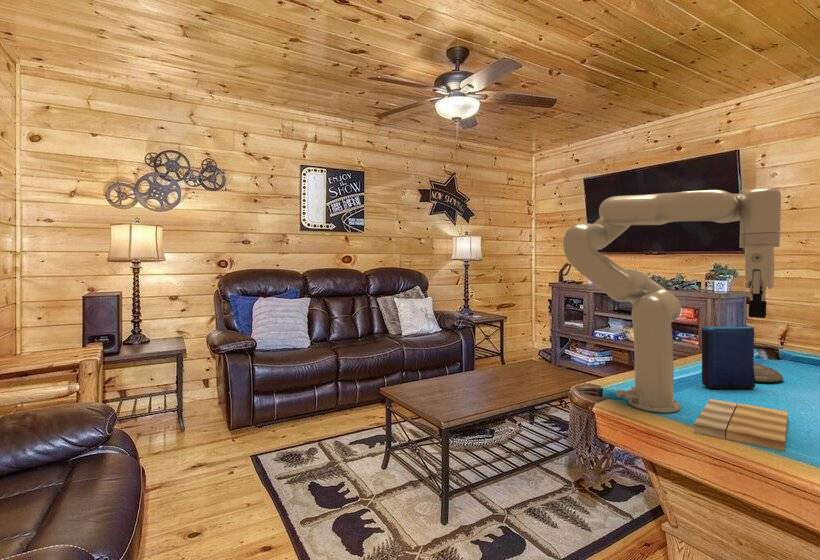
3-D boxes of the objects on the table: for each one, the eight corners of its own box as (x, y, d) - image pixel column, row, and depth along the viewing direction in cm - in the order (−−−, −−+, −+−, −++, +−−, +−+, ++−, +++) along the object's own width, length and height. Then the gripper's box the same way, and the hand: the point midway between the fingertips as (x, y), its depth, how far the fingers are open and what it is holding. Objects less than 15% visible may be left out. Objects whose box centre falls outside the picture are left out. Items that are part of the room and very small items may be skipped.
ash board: (724, 438, 98) (724, 429, 98) (693, 432, 102) (693, 423, 102) (736, 410, 116) (736, 403, 116) (710, 406, 120) (709, 398, 120)
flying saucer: (728, 371, 157) (728, 356, 156) (782, 377, 147) (782, 361, 147) (725, 380, 145) (725, 364, 145) (784, 387, 135) (784, 370, 135)
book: (747, 385, 138) (747, 323, 137) (759, 390, 132) (759, 326, 132) (699, 385, 139) (699, 324, 138) (709, 390, 134) (709, 326, 133)
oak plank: (784, 451, 91) (784, 441, 91) (726, 438, 98) (726, 430, 98) (787, 419, 109) (787, 411, 109) (738, 410, 116) (738, 403, 116)
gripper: (778, 240, 95) (775, 322, 96) (781, 241, 106) (779, 315, 107) (735, 241, 100) (733, 319, 101) (743, 242, 111) (741, 313, 112)
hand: (757, 317), depth 104 cm, fingers closed
